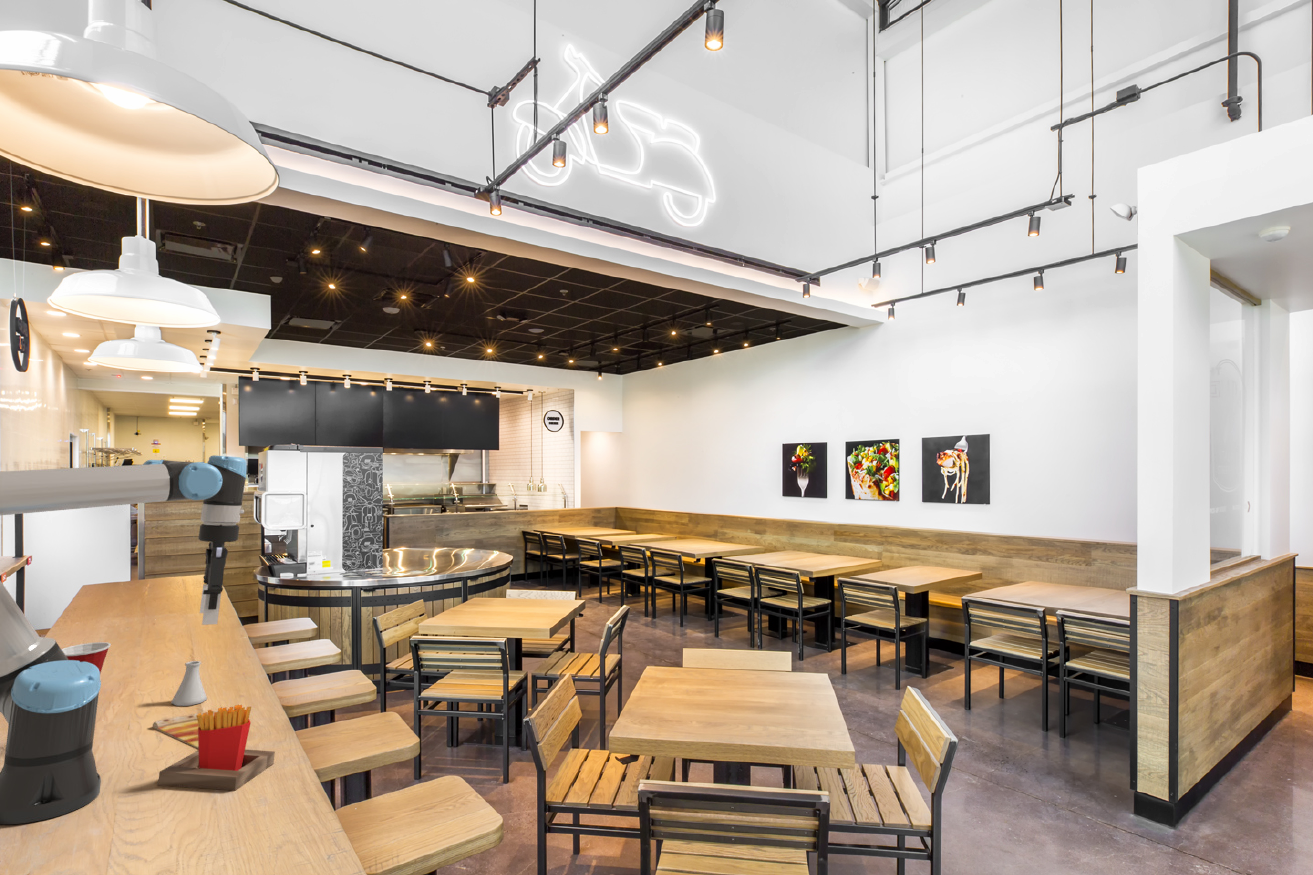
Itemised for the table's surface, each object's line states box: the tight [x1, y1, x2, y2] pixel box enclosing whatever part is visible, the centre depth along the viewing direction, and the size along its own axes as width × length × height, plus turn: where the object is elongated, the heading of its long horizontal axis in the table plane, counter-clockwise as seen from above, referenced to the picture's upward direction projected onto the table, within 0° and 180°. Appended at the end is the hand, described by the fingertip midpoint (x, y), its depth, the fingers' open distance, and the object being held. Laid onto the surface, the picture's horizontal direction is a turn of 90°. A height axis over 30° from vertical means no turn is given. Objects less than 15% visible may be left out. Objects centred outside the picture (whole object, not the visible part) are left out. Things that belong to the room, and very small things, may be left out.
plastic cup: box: [61, 641, 112, 675], centre depth 170 cm, size 11×11×12 cm
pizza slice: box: [151, 709, 228, 750], centre depth 149 cm, size 16×22×2 cm
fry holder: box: [157, 748, 276, 791], centre depth 130 cm, size 12×15×2 cm
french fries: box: [196, 704, 252, 771], centre depth 131 cm, size 9×4×13 cm, turn 130°
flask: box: [170, 660, 208, 707], centre depth 169 cm, size 7×7×10 cm
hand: (208, 618), depth 147 cm, fingers open, 13 cm apart
